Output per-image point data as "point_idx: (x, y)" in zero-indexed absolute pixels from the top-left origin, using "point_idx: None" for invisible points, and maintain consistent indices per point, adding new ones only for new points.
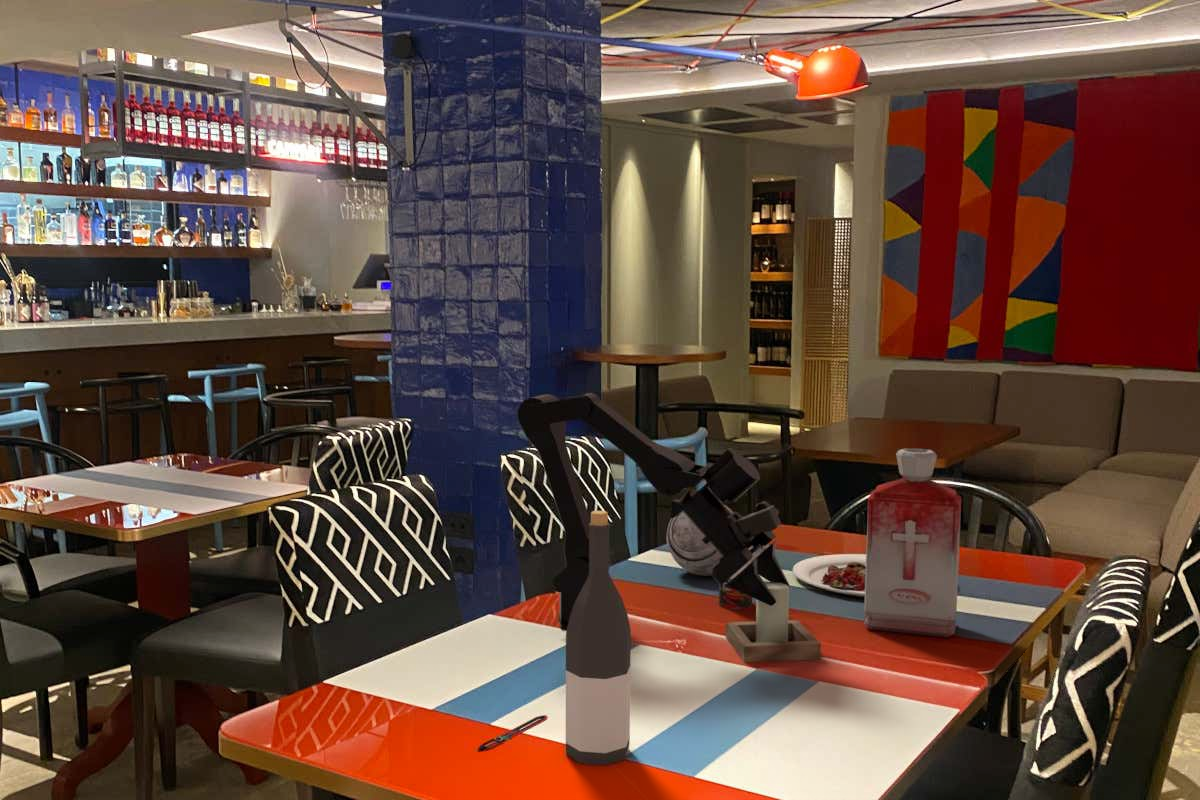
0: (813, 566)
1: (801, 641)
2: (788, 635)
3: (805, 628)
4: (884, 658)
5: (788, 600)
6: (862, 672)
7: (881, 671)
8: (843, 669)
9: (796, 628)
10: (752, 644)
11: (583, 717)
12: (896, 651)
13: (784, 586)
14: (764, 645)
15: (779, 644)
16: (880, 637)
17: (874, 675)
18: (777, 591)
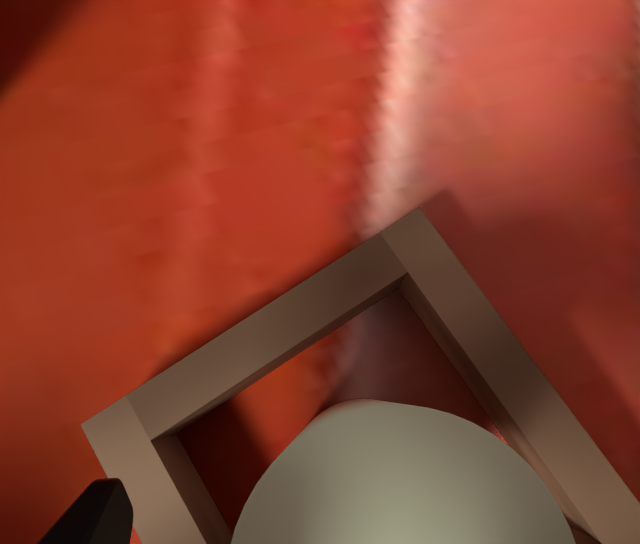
0: None
1: (433, 300)
2: (179, 448)
3: (214, 343)
4: (271, 26)
5: (371, 403)
6: (469, 57)
7: (422, 5)
8: (474, 124)
9: (230, 388)
10: (626, 528)
11: None
12: (169, 8)
13: (340, 467)
14: (602, 459)
15: (541, 389)
16: (16, 93)
17: (478, 15)
18: (542, 483)
